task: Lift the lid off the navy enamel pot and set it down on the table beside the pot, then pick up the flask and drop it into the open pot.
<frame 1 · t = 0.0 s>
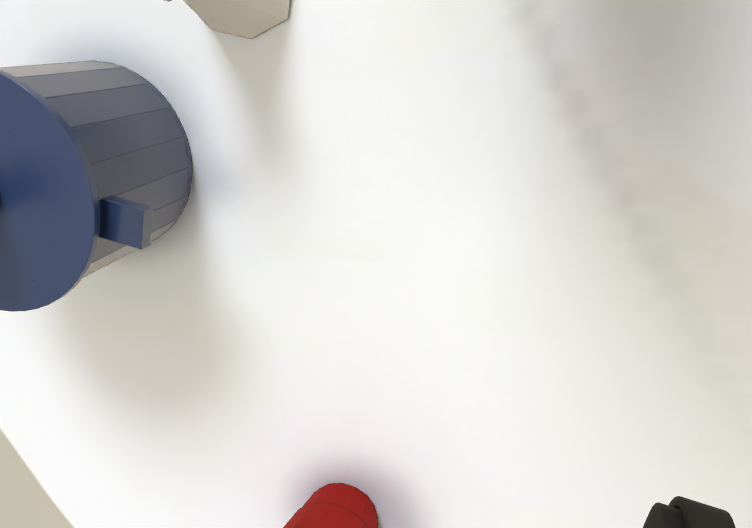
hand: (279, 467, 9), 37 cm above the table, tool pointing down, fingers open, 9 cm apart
pot: (108, 157, 50), on the table
plastic cup: (346, 509, 56), on the table
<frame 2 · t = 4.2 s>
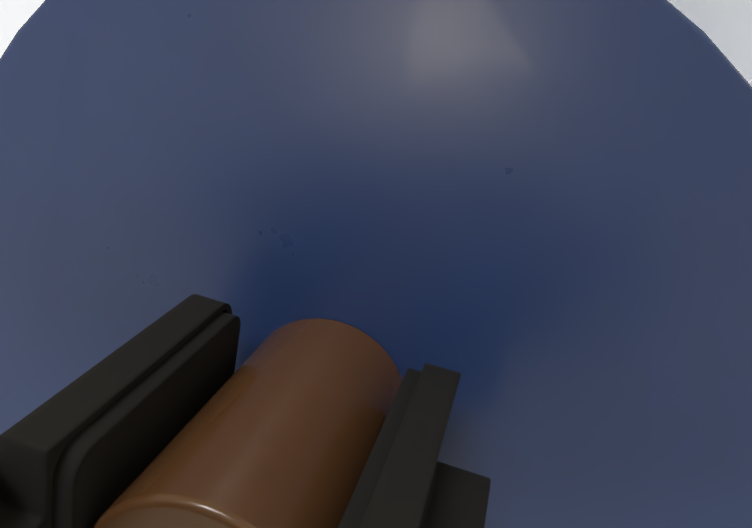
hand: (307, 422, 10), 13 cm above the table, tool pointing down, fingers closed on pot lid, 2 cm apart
pot lid: (339, 373, 12), point 12 cm above the table, touching gripper
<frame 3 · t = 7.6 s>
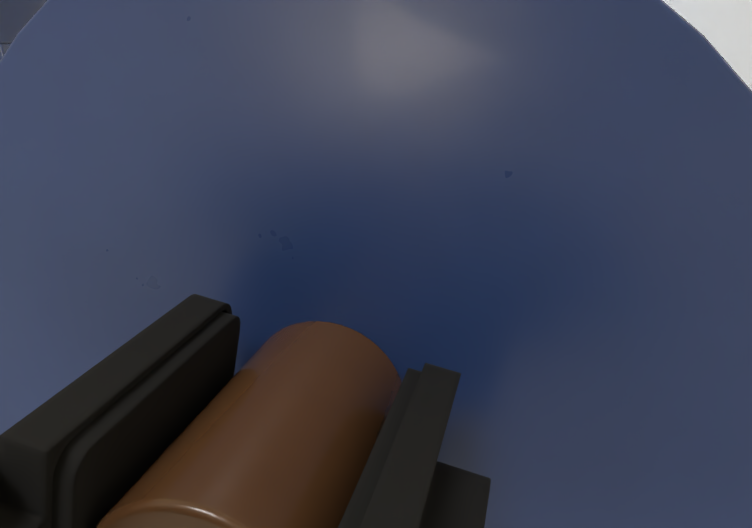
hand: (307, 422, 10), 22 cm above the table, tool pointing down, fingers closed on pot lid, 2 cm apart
pot: (67, 75, 34), on the table
pot lid: (338, 375, 12), point 21 cm above the table, touching gripper
when the fingers open (2 cm above the table, at t = 11.4 s): pot lid stays where it is, point 1 cm above the table.
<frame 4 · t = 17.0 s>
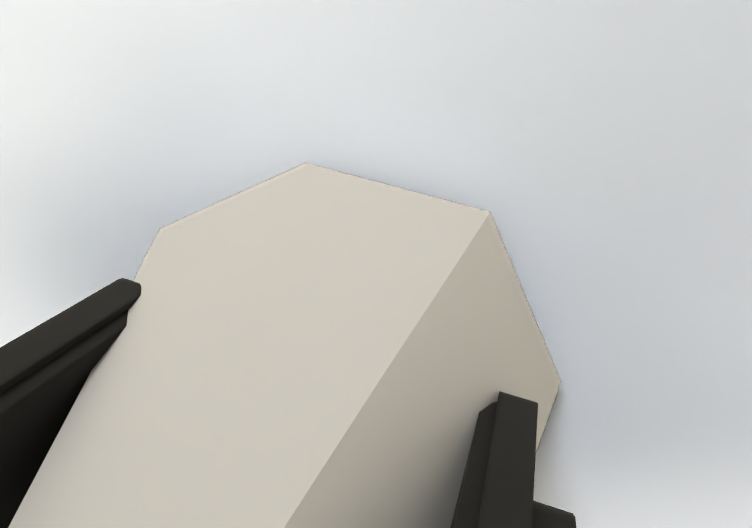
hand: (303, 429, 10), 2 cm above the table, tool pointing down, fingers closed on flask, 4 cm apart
flask: (344, 364, 12), on the table, touching gripper
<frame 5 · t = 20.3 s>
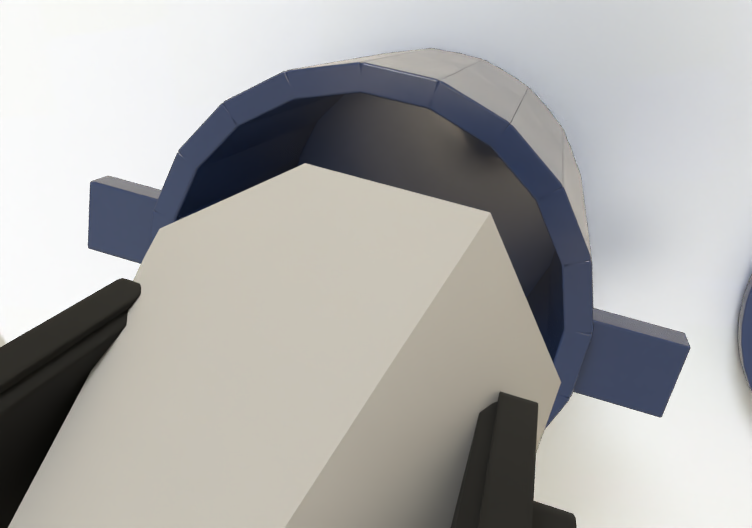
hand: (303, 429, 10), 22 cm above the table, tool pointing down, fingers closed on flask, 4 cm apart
flask: (344, 365, 12), point 19 cm above the table, touching gripper
pot: (424, 207, 31), on the table
when the fingers open (10 cm above the table, at t = 23.7 s): flask drops 8 cm, resting on pot.
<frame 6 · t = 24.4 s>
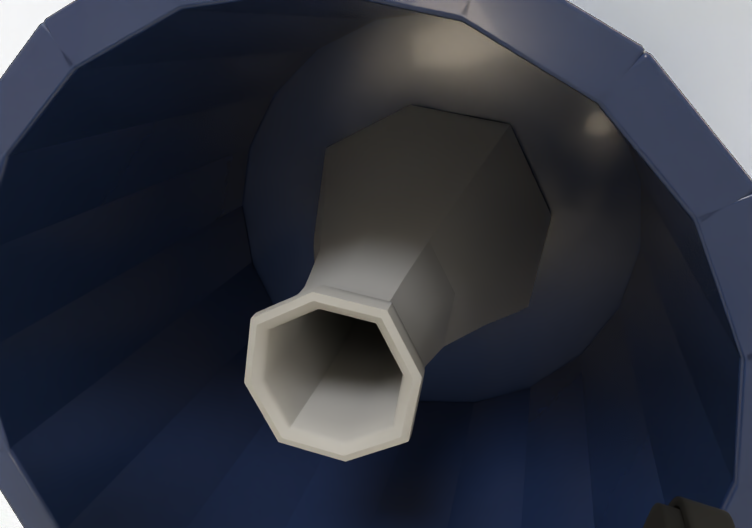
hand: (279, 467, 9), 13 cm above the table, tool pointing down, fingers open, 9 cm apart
flask: (429, 223, 21), resting on pot
pot: (431, 220, 21), on the table
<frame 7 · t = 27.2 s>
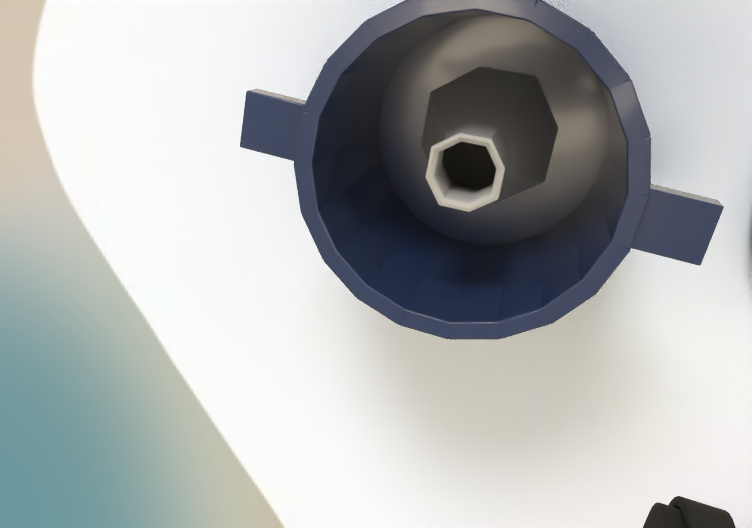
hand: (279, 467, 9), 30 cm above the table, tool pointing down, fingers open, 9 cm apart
flask: (488, 135, 37), resting on pot
pot: (489, 134, 37), on the table
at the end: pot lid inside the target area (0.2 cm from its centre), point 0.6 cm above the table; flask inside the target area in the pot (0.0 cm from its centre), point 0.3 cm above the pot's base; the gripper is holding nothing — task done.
